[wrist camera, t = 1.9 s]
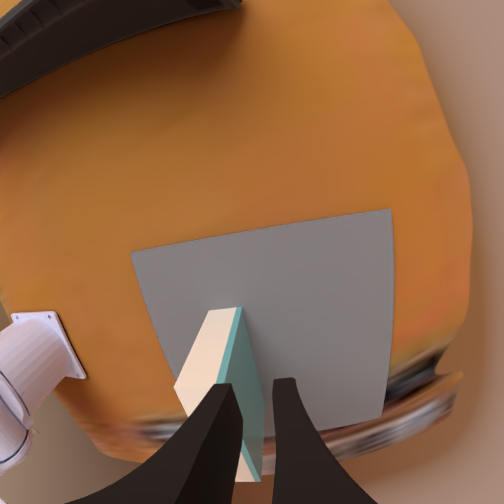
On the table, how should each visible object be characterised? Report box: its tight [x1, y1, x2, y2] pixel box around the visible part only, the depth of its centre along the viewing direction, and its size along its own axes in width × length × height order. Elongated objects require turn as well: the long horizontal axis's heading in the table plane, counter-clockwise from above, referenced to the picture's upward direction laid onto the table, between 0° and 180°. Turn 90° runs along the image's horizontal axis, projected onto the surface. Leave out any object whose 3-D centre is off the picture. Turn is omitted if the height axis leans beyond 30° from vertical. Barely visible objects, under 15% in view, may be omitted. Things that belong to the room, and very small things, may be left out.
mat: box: [130, 209, 394, 437], centre depth 20 cm, size 18×20×1 cm
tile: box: [174, 307, 266, 482], centre depth 16 cm, size 2×10×8 cm, turn 11°
